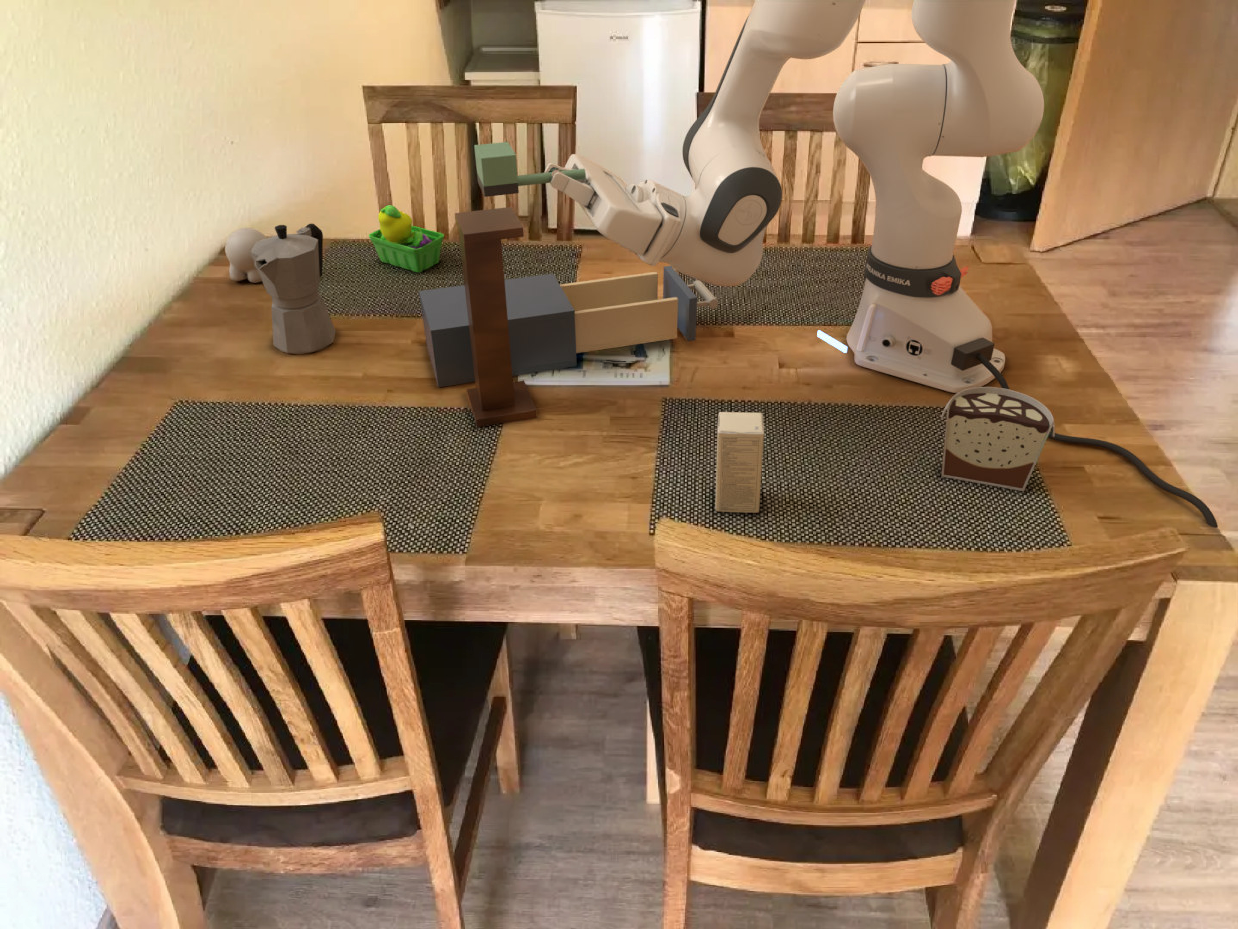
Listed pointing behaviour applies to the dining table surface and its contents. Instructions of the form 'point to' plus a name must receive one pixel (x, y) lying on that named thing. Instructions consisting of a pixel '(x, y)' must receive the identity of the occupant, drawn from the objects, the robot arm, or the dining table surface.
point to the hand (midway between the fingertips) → (549, 173)
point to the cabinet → (533, 323)
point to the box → (739, 462)
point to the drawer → (634, 309)
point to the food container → (994, 436)
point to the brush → (507, 170)
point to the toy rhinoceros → (243, 254)
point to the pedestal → (490, 317)
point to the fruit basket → (405, 241)
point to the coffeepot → (295, 288)
